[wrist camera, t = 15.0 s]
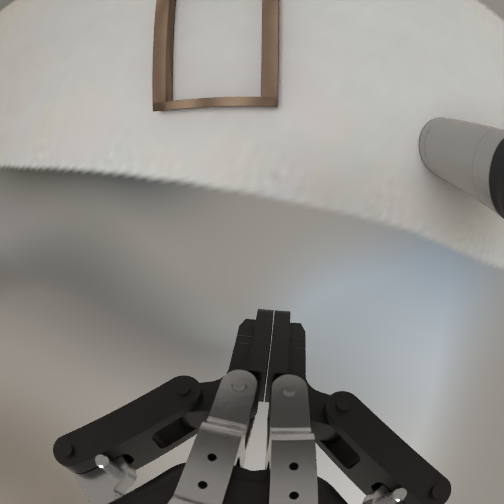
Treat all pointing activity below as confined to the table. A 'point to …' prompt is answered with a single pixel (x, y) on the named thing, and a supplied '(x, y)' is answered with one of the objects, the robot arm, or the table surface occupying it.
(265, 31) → the brown wooden frame
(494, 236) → the table surface
